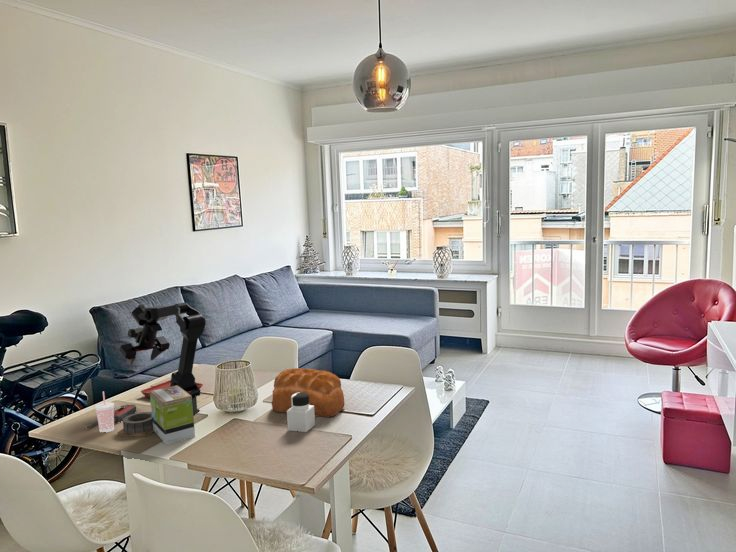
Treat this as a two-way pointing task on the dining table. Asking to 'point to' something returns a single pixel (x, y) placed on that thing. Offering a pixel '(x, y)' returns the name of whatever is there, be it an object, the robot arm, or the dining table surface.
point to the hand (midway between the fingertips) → (140, 362)
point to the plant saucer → (161, 386)
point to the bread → (309, 390)
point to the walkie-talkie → (119, 413)
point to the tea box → (172, 414)
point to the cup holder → (137, 424)
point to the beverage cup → (105, 416)
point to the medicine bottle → (300, 413)
